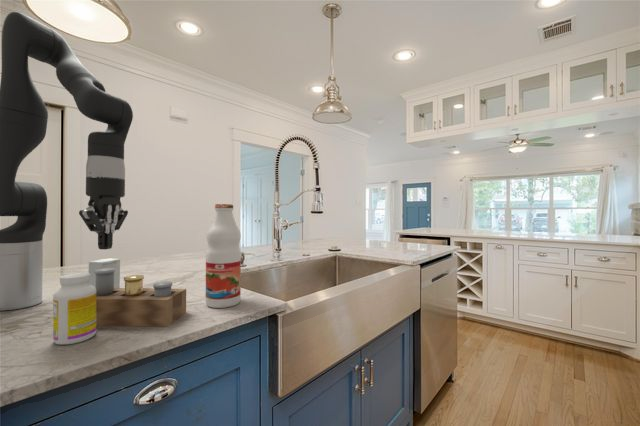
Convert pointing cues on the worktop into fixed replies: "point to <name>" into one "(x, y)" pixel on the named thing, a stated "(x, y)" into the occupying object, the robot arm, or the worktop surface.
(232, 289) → the fruit juice
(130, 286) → the plug mid
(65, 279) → the supplement bottle
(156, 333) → the worktop surface
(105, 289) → the plug
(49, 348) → the worktop surface
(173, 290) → the socket block
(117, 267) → the skincare box
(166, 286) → the plug
